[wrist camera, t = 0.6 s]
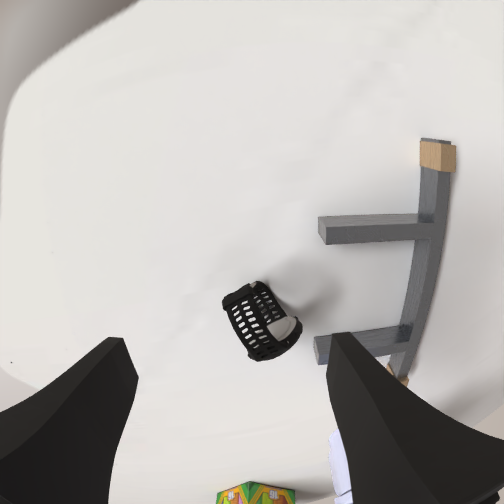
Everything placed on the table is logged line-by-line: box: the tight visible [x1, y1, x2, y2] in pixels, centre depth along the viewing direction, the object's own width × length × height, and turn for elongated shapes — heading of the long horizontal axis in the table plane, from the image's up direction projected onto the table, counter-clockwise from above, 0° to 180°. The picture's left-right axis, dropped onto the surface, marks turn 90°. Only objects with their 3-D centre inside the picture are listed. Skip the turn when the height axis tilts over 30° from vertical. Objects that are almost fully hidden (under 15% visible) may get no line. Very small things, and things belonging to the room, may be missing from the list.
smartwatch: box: [222, 281, 303, 362], centre depth 17 cm, size 4×5×5 cm
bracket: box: [314, 138, 456, 387], centre depth 18 cm, size 20×8×2 cm, turn 4°
